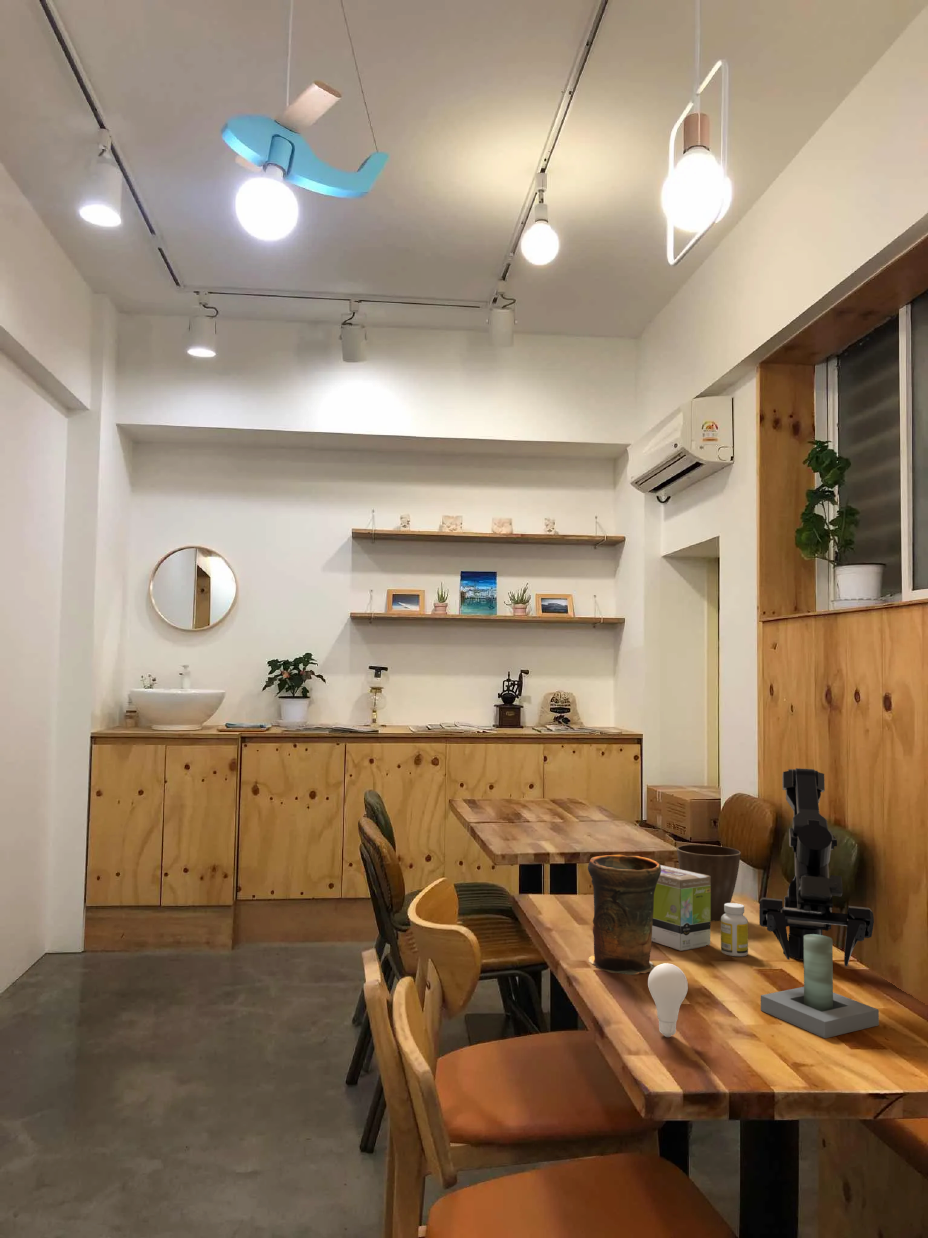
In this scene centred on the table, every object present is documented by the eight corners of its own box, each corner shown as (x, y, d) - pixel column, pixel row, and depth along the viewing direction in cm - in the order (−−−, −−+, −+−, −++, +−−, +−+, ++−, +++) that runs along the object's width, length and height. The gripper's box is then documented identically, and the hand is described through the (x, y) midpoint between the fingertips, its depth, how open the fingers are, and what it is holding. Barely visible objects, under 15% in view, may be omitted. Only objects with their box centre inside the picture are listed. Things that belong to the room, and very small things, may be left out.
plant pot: (663, 915, 210) (664, 848, 211) (698, 906, 220) (698, 842, 221) (719, 929, 199) (719, 858, 200) (752, 919, 209) (752, 851, 210)
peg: (810, 1010, 149) (809, 932, 150) (837, 1017, 146) (836, 938, 147) (800, 1017, 145) (799, 937, 146) (827, 1025, 142) (826, 943, 143)
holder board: (813, 999, 154) (813, 985, 154) (878, 1025, 143) (878, 1009, 143) (760, 1010, 148) (760, 995, 148) (824, 1038, 137) (824, 1022, 137)
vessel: (660, 955, 177) (661, 856, 179) (660, 979, 164) (660, 871, 165) (590, 949, 181) (590, 851, 182) (583, 972, 167) (584, 866, 168)
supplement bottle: (748, 951, 182) (748, 903, 183) (747, 958, 177) (747, 909, 178) (721, 948, 184) (721, 901, 185) (720, 955, 179) (720, 906, 180)
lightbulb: (642, 1029, 138) (643, 958, 139) (680, 1029, 139) (680, 958, 140) (654, 1045, 132) (654, 970, 133) (693, 1044, 133) (693, 970, 134)
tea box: (712, 945, 186) (712, 875, 187) (680, 952, 180) (680, 880, 181) (659, 928, 198) (660, 862, 199) (627, 934, 192) (628, 866, 194)
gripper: (759, 852, 158) (759, 930, 147) (872, 861, 152) (881, 943, 141) (759, 887, 165) (759, 964, 154) (867, 897, 159) (875, 978, 148)
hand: (817, 962), depth 149 cm, fingers open, 9 cm apart
